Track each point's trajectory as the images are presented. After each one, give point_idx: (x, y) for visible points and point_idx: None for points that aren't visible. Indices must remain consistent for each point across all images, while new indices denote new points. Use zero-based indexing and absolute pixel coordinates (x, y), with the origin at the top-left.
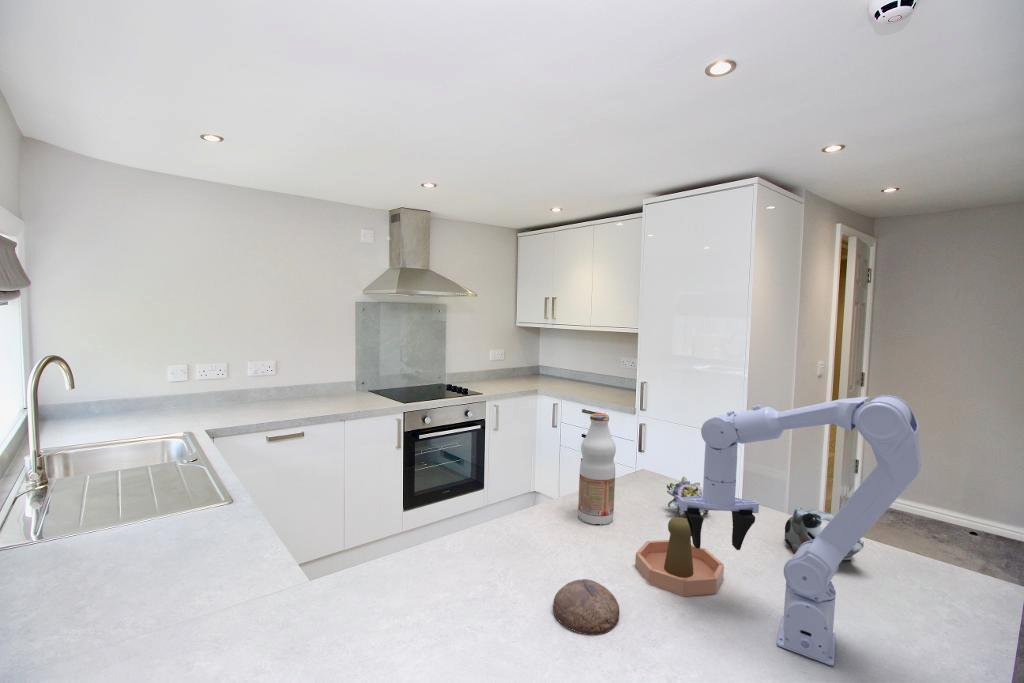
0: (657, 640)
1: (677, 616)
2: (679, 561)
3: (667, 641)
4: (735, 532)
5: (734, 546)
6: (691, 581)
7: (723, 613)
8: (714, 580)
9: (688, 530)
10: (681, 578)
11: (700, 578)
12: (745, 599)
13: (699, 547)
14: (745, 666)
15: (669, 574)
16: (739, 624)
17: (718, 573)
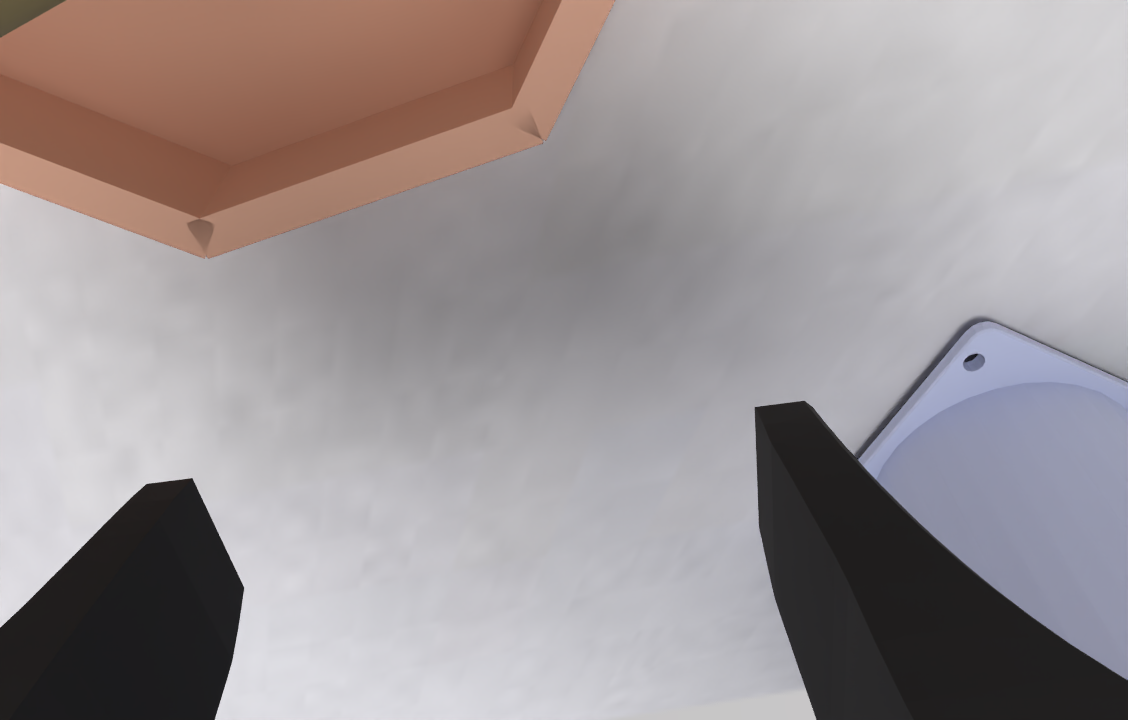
0: None
1: (202, 439)
2: None
3: None
4: (825, 638)
5: (759, 481)
6: (277, 233)
7: (538, 344)
8: (521, 143)
9: (16, 19)
10: (173, 218)
11: (371, 174)
12: (794, 118)
13: (233, 608)
14: (537, 697)
15: (40, 165)
16: (616, 432)
17: (597, 14)
